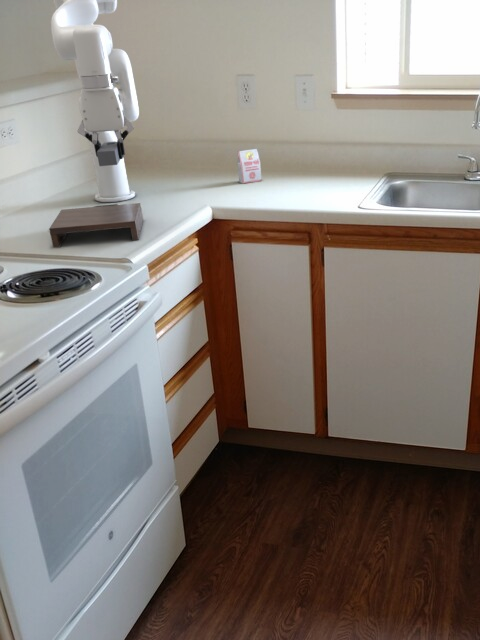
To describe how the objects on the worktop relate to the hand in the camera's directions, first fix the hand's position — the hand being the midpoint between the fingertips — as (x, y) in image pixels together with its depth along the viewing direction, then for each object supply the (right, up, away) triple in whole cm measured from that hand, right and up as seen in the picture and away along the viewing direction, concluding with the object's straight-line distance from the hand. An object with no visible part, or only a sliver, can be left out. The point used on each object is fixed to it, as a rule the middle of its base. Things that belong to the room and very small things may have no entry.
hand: (111, 158), depth 199 cm
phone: (-9, -8, +26) cm, 29 cm away
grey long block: (0, -1, 0) cm, 1 cm away
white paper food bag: (+31, +12, +56) cm, 65 cm away
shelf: (-6, -17, +9) cm, 20 cm away
